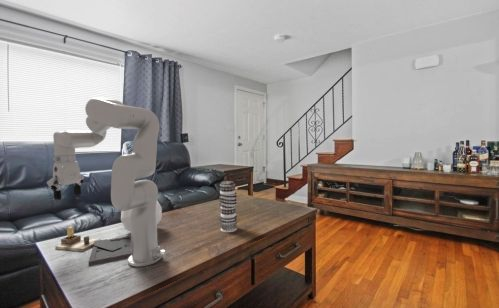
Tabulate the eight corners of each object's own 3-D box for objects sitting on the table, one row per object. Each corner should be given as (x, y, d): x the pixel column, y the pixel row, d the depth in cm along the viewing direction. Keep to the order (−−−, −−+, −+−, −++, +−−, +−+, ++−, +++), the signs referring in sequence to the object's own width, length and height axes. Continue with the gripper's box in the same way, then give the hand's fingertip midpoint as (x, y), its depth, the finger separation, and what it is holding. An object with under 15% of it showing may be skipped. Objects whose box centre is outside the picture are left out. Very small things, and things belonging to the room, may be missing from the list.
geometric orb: (144, 240, 136) (155, 205, 146) (162, 236, 123) (173, 198, 134) (108, 230, 125) (123, 193, 136) (123, 225, 112) (138, 184, 123)
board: (101, 242, 118) (100, 233, 118) (82, 251, 108) (82, 242, 108) (75, 239, 121) (75, 231, 121) (55, 248, 111) (54, 239, 111)
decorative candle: (237, 232, 126) (235, 183, 125) (218, 232, 127) (217, 183, 125) (238, 226, 136) (237, 180, 134) (221, 226, 136) (219, 180, 134)
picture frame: (94, 245, 115) (88, 265, 96) (94, 240, 115) (88, 260, 96) (133, 238, 122) (134, 256, 103) (133, 234, 122) (134, 251, 103)
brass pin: (75, 241, 116) (74, 226, 116) (71, 243, 114) (69, 228, 114) (71, 240, 117) (70, 226, 116) (66, 242, 115) (65, 227, 114)
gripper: (53, 161, 104) (56, 202, 105) (88, 157, 121) (90, 192, 122) (39, 161, 105) (42, 201, 107) (75, 157, 122) (78, 192, 123)
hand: (68, 196), depth 114 cm, fingers open, 9 cm apart
